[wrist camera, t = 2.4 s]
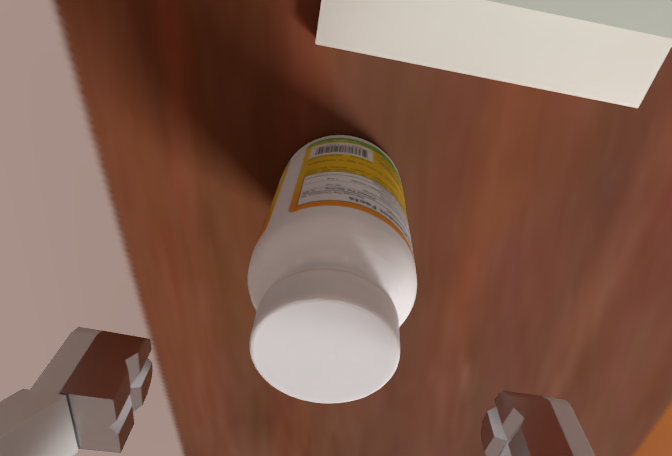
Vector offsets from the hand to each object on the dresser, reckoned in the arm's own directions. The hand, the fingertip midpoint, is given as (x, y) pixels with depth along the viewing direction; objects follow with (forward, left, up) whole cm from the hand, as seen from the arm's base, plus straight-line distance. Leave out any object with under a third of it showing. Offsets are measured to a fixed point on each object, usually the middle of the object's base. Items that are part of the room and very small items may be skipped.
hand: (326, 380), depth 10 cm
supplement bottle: (-1, 0, -11) cm, 11 cm away
